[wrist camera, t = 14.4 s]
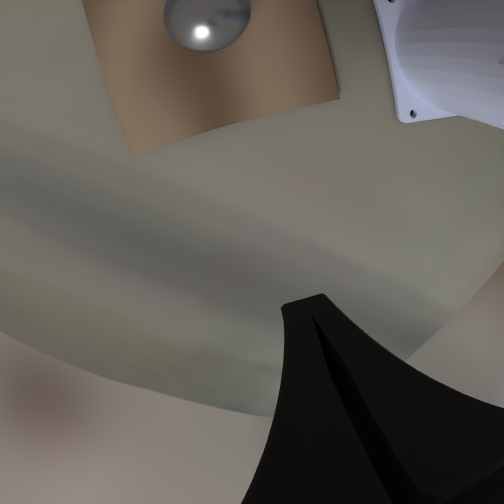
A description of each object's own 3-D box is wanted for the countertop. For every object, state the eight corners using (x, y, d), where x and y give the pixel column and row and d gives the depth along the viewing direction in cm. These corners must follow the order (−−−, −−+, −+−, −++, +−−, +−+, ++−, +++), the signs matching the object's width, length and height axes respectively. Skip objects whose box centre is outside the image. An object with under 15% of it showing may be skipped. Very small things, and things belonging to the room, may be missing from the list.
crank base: (284, -77, 10) (290, -86, 9) (336, 98, 15) (345, 99, 14) (79, -22, 10) (71, -28, 9) (134, 155, 16) (129, 160, 14)
